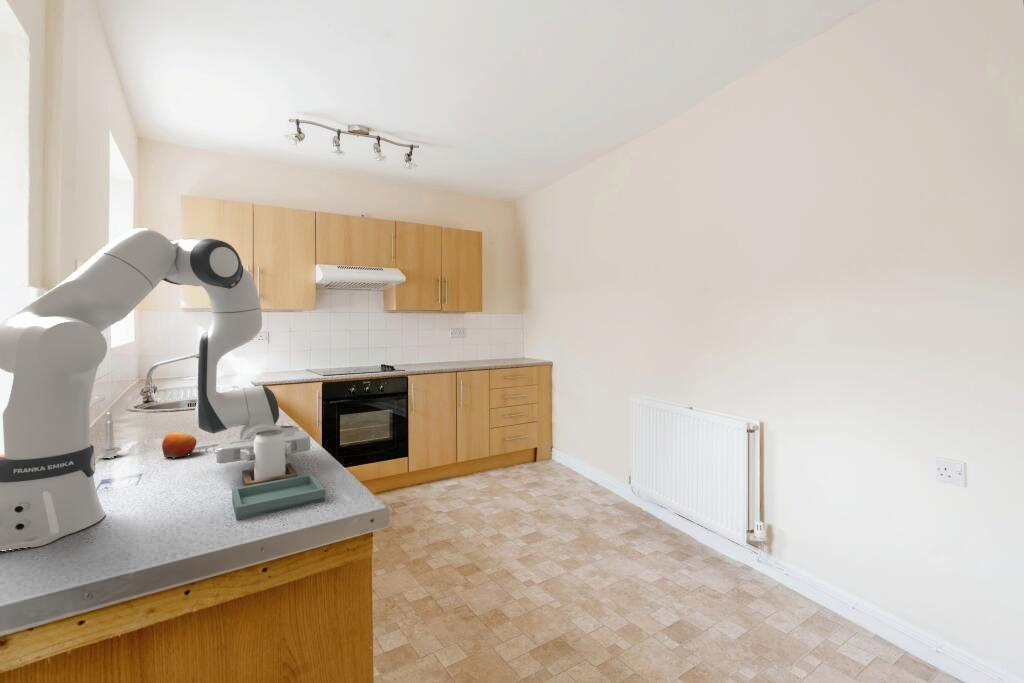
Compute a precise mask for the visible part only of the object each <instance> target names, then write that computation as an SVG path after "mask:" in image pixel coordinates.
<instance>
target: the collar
mask: <svg viewBox="0 0 1024 683" xmlns="http://www.w3.org/2000/svg"><path fill="white" fill-rule="evenodd" d="M241 472H242V474H241V475H242V477H241V478H242V484H244V485H243V487H245V486H250V485H255V484H261V483H266V482H272V481H277V480H282V479H288V478H293V477H299V473H298V472H297V470H296V469H295V467H294V466H293V465H292V463H291V462H288V463H285V475H282V476H277V477H271V478H266V479H260V480H254V468H252V469H246V470H242V471H241Z"/></svg>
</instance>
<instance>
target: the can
mask: <svg viewBox="0 0 1024 683" xmlns="http://www.w3.org/2000/svg"><path fill="white" fill-rule="evenodd" d="M282 432H283V431H282V430H266V431H261V432H258V433H256V437H255V439H254V454H255V456H254V457H255V460H253V464H254V465H253V469H254V480H260V479H266V478H271V477H277V476H282V475H285V464H286V455H285V437H284V435H283V433H282Z"/></svg>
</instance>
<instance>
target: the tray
mask: <svg viewBox="0 0 1024 683" xmlns="http://www.w3.org/2000/svg"><path fill="white" fill-rule="evenodd" d="M325 490H326V489H325V488H324V486H323V485H322V483H320V481H319V480H318V479H317V478H316V476H315V475H314V474H313V473H311V474H306V475H305V474H303V475H298V477H293V478H288V479H282V480H277V481H272V482H266V483H261V484H255V485H250V486H245V487H244V486H240V487H234V488H231V499H232V500H231V502H232V505H233V506H232V507H233V509H234V515H235V519H236V521H241V520H244V519H249V518H254V517H258V516H259V517H260V516H263V515H269V514H271V513H277V512H281V511H286V510H290V509H291V510H292V509H295V508H300V507H303V506H308V505H313V504H317V503H322V502H325V501H326V492H325Z"/></svg>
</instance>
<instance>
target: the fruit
mask: <svg viewBox="0 0 1024 683" xmlns="http://www.w3.org/2000/svg"><path fill="white" fill-rule="evenodd" d="M196 446H197V439H196V437H195V436H193V435H192V434H187V433H184V432H179V431H175V432H171V433H168V434H167V435H165V436H164V438H163V440H162V443H161V449H162V453H163V457H165V458H169V457H171V458H172V460H173V459H174V460H175V459H176V458H178V457H179V458H180V457H186V455H188V454H190V455H191V454H192V453H193V452H194V450H195V448H196ZM188 456H189V455H188Z"/></svg>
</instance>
